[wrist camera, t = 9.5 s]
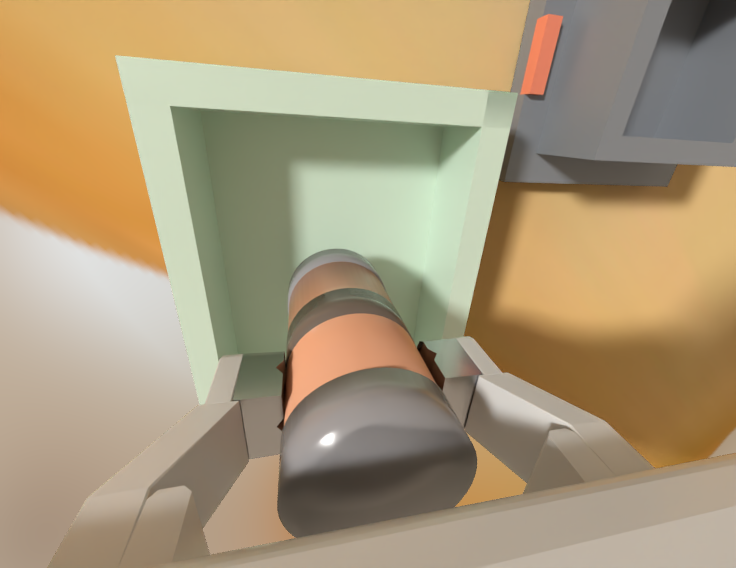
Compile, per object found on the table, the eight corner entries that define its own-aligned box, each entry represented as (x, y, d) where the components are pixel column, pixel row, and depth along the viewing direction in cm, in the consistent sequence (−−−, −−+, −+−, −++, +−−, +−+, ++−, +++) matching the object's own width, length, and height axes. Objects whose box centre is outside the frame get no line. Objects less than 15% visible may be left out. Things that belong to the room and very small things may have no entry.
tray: (168, 75, 11) (115, 55, 8) (464, 100, 13) (518, 92, 10) (226, 386, 17) (209, 446, 14) (421, 368, 19) (445, 415, 16)
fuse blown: (285, 249, 12) (269, 433, 5) (383, 247, 12) (497, 404, 5) (290, 333, 13) (283, 566, 6) (377, 327, 14) (458, 530, 7)
